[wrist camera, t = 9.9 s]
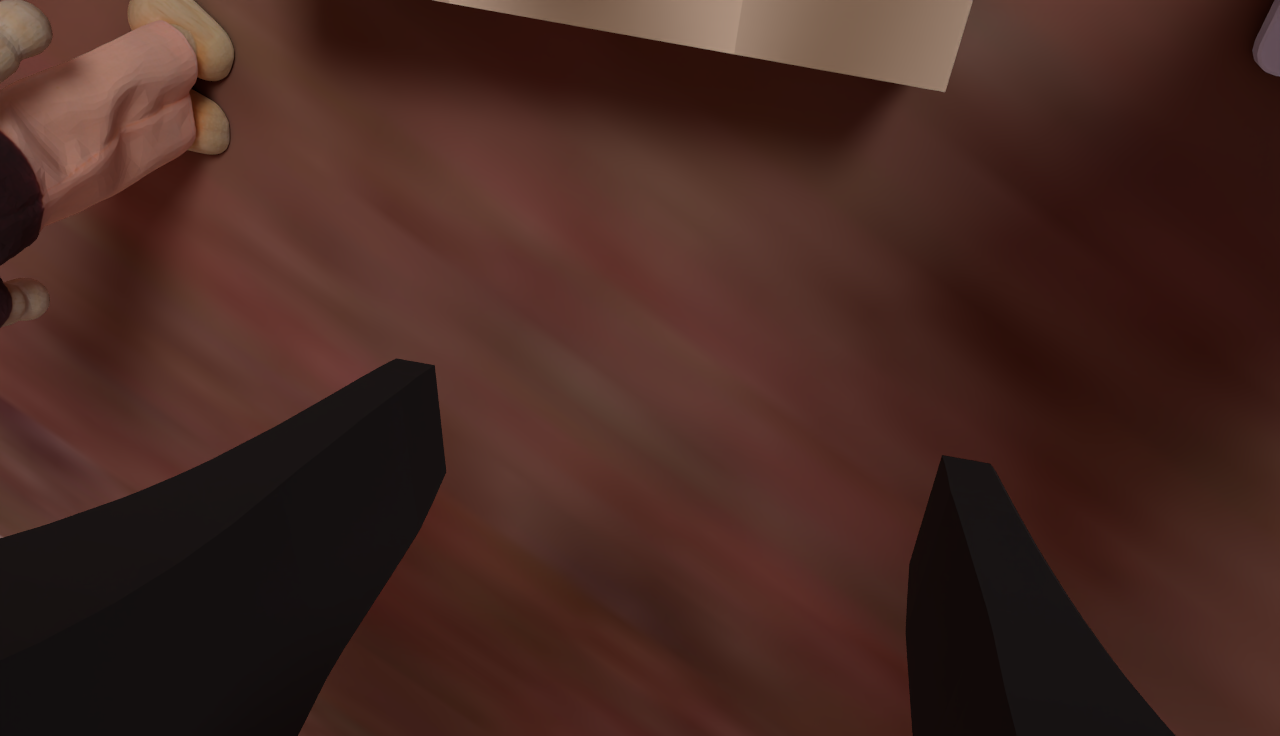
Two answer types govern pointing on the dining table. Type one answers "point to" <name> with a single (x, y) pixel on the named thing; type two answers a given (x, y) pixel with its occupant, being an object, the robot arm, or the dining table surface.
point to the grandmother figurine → (98, 120)
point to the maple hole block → (783, 30)
